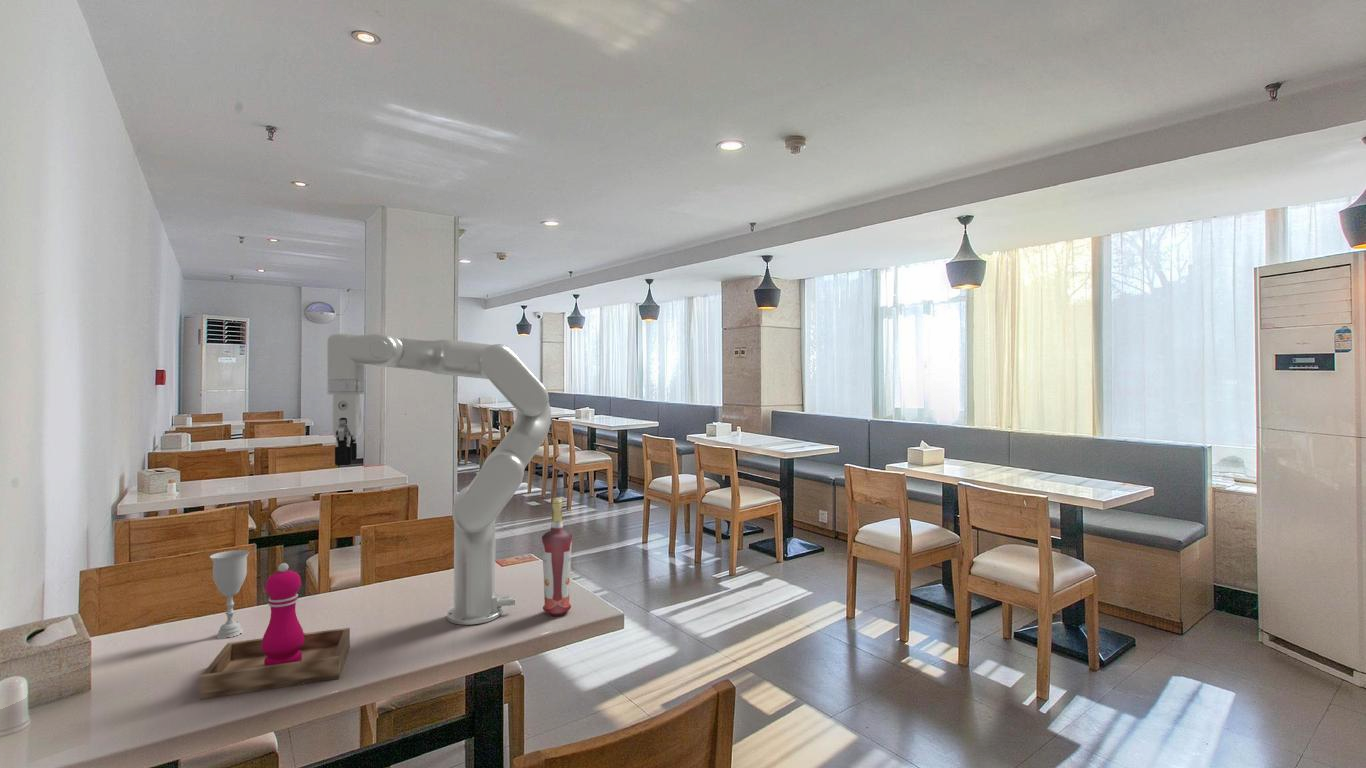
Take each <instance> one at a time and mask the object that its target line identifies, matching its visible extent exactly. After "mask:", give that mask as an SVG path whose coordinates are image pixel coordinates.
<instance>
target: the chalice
mask: <svg viewBox="0 0 1366 768" xmlns="http://www.w3.org/2000/svg"><path fill="white" fill-rule="evenodd" d="M249 554H250V550H246V549H236V550H227V551H226V550H225V551H221V552H218V553H217V552H216V553H214V554H211V555H210V556H209V558H210V559H211V561H212V579H213V582H214V583H215V586H216V588H217V589H218V591H219V592H220V594H221V595H222V596H225V597H226V599H227V600H226V604H225V606H226V607H227V610H226V612H225V613H224V614H225V615H226V618H227V619H226V621H225V622H224V623H223V624H222V625H221V626H220V627H219V630H218V632H217V634H216V636H218V637H219V638H218V639H220V638H224V639H227V638H226V637H231V638H233V637H232V636H235V637H237V636H236V635H238V636H240V635H239V634H240V633H242V632H243V631H244V629H243V627H242V626H241V624H240V623H239V622H238V621H235V619H234V614H235V613H236V611H235V609H234V605H235V602H234V600H233V599H234V596H235V595H236V594H238V593H239V591H240V589H241V588H242V586H243V584H244V582H245V580H246V577H247V574H248V570H247V569H248V564H247V563H248V562H247V561H248V560H247V559H248V556H249ZM243 633H244V632H243ZM243 633H242V634H243Z"/></svg>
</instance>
